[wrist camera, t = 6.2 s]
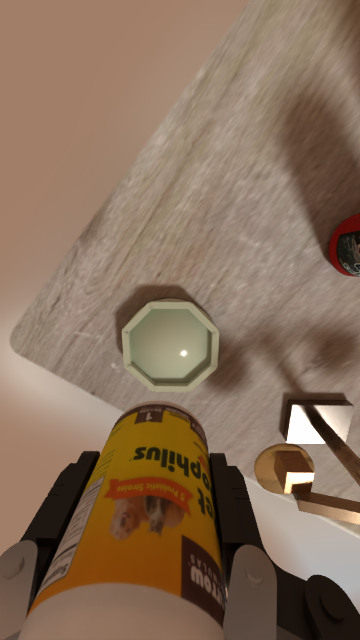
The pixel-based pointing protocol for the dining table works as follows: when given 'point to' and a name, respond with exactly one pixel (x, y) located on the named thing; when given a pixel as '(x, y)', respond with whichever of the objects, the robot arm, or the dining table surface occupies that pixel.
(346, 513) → the balance
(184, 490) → the supplement bottle
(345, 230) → the beverage can
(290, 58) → the dining table surface
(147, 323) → the dish
